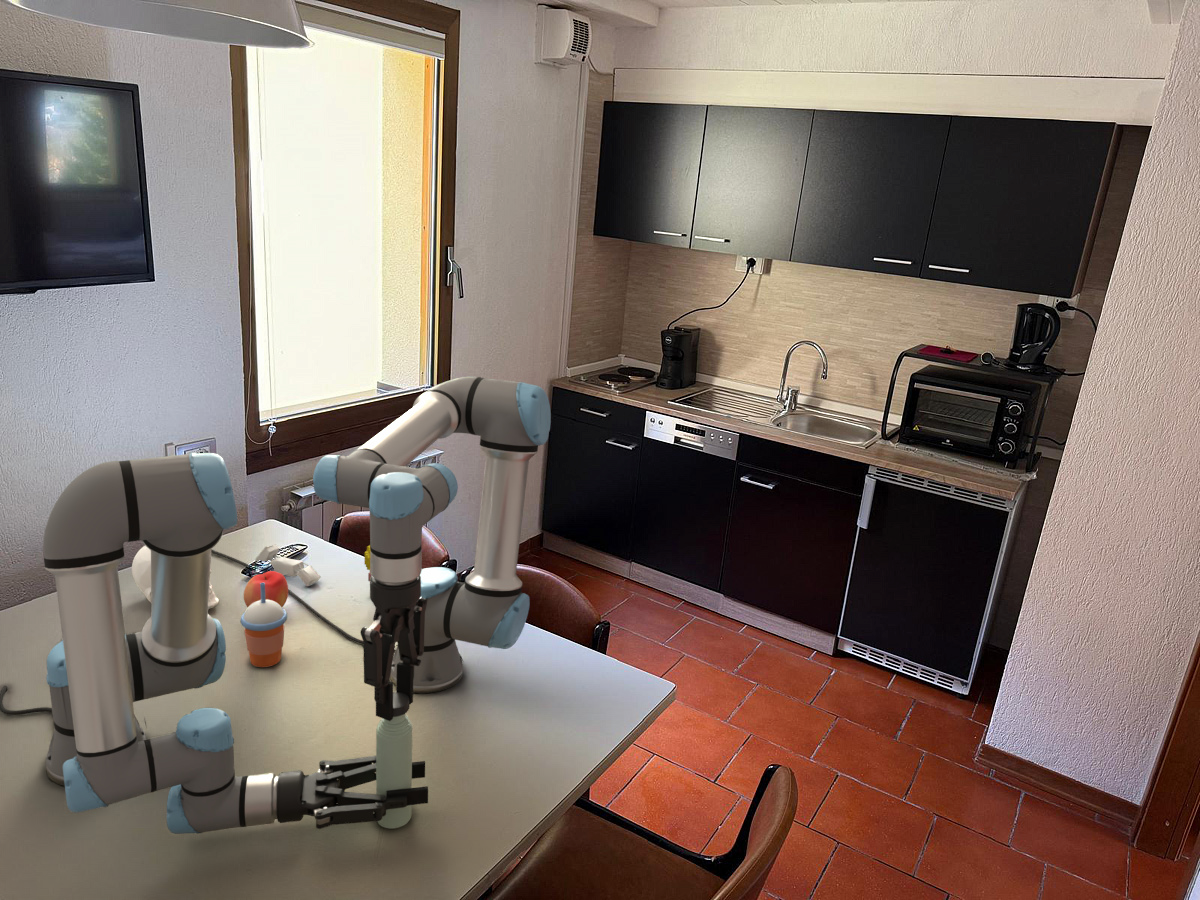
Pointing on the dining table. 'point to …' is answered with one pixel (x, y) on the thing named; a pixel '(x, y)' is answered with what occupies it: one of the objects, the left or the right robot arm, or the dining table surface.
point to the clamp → (288, 565)
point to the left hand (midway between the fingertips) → (426, 781)
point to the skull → (143, 575)
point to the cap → (400, 704)
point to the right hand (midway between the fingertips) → (394, 708)
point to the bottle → (394, 765)
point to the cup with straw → (264, 631)
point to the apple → (267, 588)
